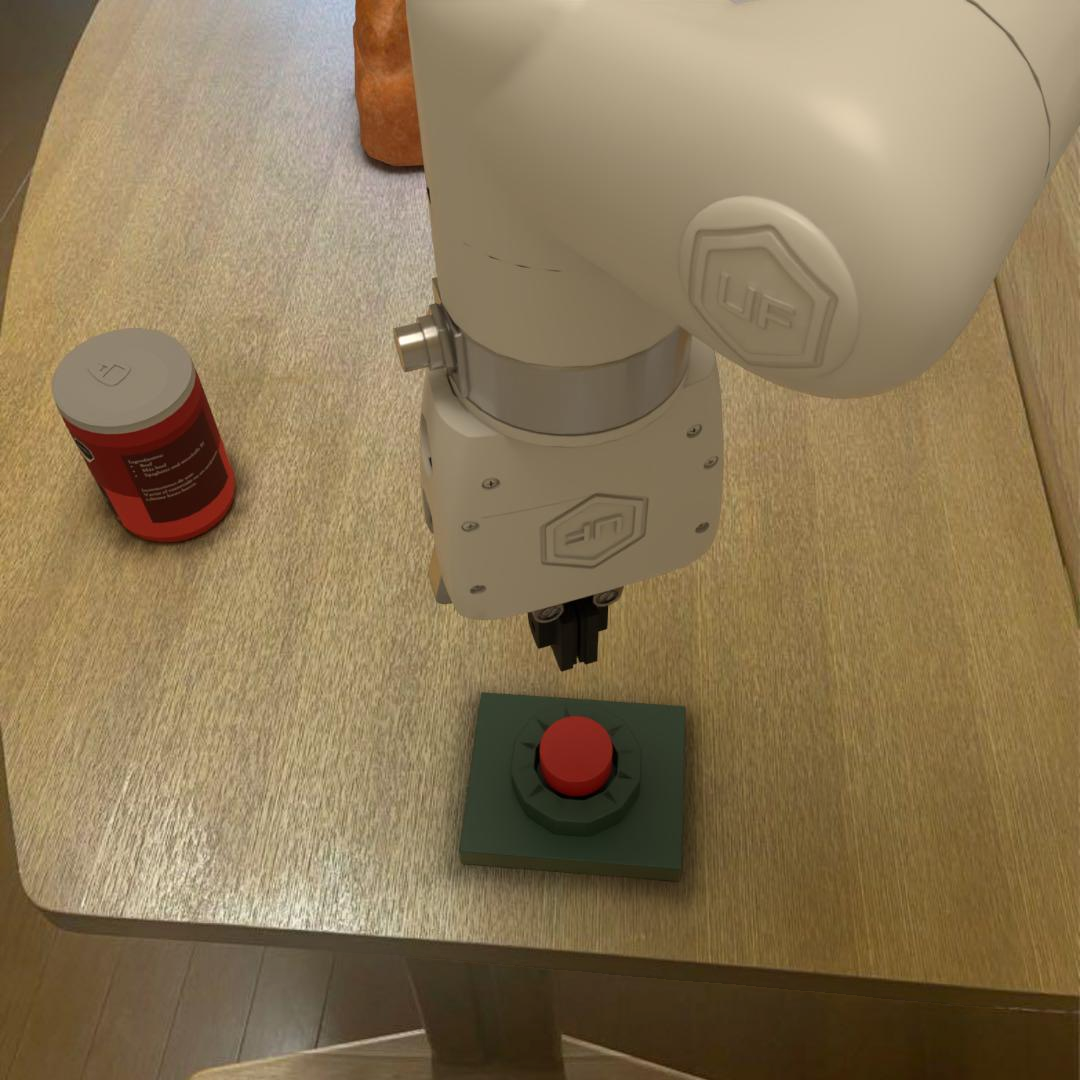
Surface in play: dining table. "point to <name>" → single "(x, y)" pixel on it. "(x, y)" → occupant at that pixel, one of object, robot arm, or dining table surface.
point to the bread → (385, 83)
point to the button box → (576, 821)
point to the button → (576, 756)
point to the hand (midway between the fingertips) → (567, 638)
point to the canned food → (146, 432)
